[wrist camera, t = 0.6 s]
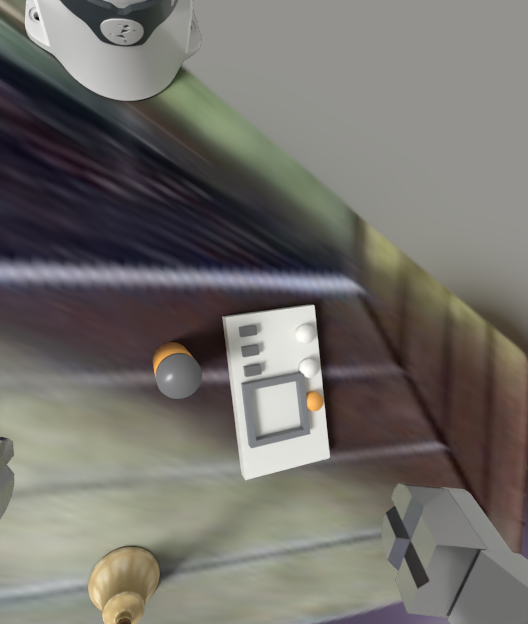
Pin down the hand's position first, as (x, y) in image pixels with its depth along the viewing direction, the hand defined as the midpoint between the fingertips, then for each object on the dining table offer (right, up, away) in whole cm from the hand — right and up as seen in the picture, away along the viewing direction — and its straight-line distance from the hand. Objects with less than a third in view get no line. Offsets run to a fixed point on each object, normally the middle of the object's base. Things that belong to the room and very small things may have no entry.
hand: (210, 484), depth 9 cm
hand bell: (-16, -29, +41) cm, 53 cm away
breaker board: (+3, -7, +45) cm, 46 cm away
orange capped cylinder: (-10, -2, +41) cm, 43 cm away
